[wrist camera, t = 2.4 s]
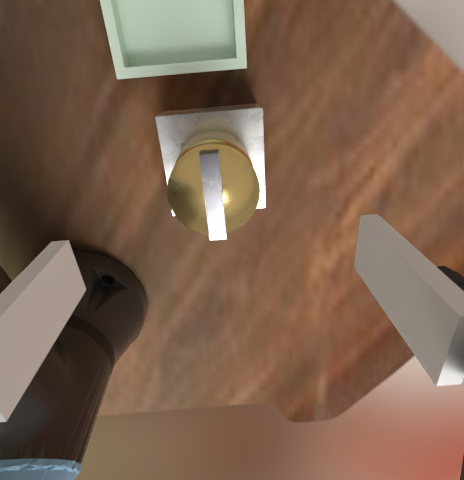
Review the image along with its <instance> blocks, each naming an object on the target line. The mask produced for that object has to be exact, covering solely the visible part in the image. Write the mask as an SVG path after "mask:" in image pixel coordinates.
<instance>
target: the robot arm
mask: <svg viewBox="0 0 464 480" xmlns="http://www.w3.org/2000/svg"><path fill="white" fill-rule="evenodd" d="M354 268H355V270H356V271H357V272H358V274H359V275H360V277H361V278H362V280H363V281H364V283H365V284H366V285H367V287H368V288H369V290H370V291H371V293H372V294H373V296H374V297H375V298H376V300H377V301H378V303H379V304H380V306H381V307H382V308H383V310H384V311H385V313H386V314H387V316H388V317H389V319H390V320H391V321H392V323H393V324H394V326H395V327H396V329H397V330H398V332H399V333H400V334H401V336H402V337H403V339H404V340H405V342H406V343H407V344H408V346H409V347H410V349H411V350H412V352H413V353H414V355H415V356H416V357H417V359H418V360H419V362H420V363H421V365H422V366H423V368H424V369H425V370H426V372H427V373H428V375H429V376H430V378H431V379H432V380H433V382H434V383H435V385H436V386H441V385H455V384H461V383H462V381H463V379H464V277H463V276H462V275H461V274H459V273H457V272H455V271H453V270H451V269H449V268H447V267H445V266H438V267H436V266H435V265H434V264H433V263H432V262H430V261H429V260H428V259H427V258H426V257H425V256H424V255H423V254H421V253H420V252H419V251H418V250H417V249H416V248H415V247H414V246H413V245H411V244H410V243H409V242H408V241H407V240H406V239H405V238H404V237H402V236H401V235H400V234H399V233H398V232H397V231H396V230H395V229H393V228H392V227H391V226H390V225H389V224H388V223H387V222H386V221H385V220H383V219H382V218H381V217H380V216H379V215H378V214H374V215H362V216H360V223H359V231H358V239H357V247H356V255H355V263H354ZM146 313H147V298H146V294H145V291H144V289H143V287H142V285H141V284H140V282H139V281H138V279H137V278H136V277H135V276H134V274H133V273H132V272H131V271H129V270H128V269H127V268H126V267H125V266H123V265H122V264H120V263H119V262H117V261H115V260H113V259H111V258H109V257H107V256H104V255H101V254H98V253H95V252H90V251H84V250H72V248H71V245H70V242H69V240H64V241H52V242H51V243H50V244H49V245H48V246H47V247H46V248H45V249H44V250H43V251H42V252H41V253H40V254H39V255H38V256H37V257H36V258H35V259H34V260H33V261H32V262H31V263H30V264H29V265H28V266H27V267H26V268H25V269H24V270H23V271H22V272H21V273H20V274H19V275H18V276H17V277H16V278H15V279H14V280H13V281H11V279H10V278H9V276H8V275H7V274H6V272H5V271H4V270H3V268H2V267H1V266H0V480H75V478H76V475H77V474H78V473H79V472H80V470H81V467H82V465H81V463H82V459H83V457H84V454H85V451H86V447H87V445H88V441H89V439H90V435H91V433H92V430H93V427H94V424H95V420H96V418H97V415H98V412H99V409H100V406H101V403H102V400H103V397H104V394H105V391H106V388H107V385H108V382H109V379H110V376H111V373H112V370H113V367H114V365H115V363H116V362H117V361H118V360H119V358H120V357H121V356H122V355H123V353H124V352H125V351H126V350H127V348H128V347H129V346H130V345H131V344H132V343H133V341H134V340H135V339H136V338H137V337H138V335H139V333H140V331H141V329H142V327H143V324H144V320H145V317H146ZM460 480H464V456H463V463H462V470H461V477H460Z"/></svg>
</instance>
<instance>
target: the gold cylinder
mask: <svg viewBox="0 0 464 480" xmlns="http://www.w3.org/2000/svg"><path fill="white" fill-rule="evenodd" d="M167 195H168V200H169V204H170V207H171V209H172V211H173V213H174V214H175V215H176V217H177V218H178V219H179V220H180V221H181V222H182V223H183V224H184V225H185V226H187V227H188V228H190V229H192V230H194V231H196V232H199V233H202V234H207V235H209V240H210V241H212V240H224V239H227V237H226V233H229V232H232V231H234V230H236V229H238V228H240V227H241V226H243V225H244V224H245V223H246V222H247V221H248V220H249V219H250V218H251V217H252V215H253V214H254V212H255V210H256V208H257V205H258V202H259V197H260V185H259V180H258V177H257V175H256V172H255V169H254V167H253V164H252V162H251V159H250V157H249V154H248V152H247V150H246V148H245V147H244V146H243V145H242V143H241V142H240V141H238V140H237V139H236V138H234V137H233V136H231V135H229V134H226V133H223V132H217V131H210V132H204V133H201V134H199V135H196V136H195V137H193V138H192V139H190V140H189V141H188V142H187V143H186V144H185V145H184V147H183V148H182V150H181V152H180V154H179V156H178V158H177V161H176V163H175V165H174V167H173V169H172V172H171V174H170V177H169V180H168V185H167Z"/></svg>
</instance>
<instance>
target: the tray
mask: <svg viewBox="0 0 464 480" xmlns="http://www.w3.org/2000/svg"><path fill="white" fill-rule="evenodd" d="M100 3H101V8H102V12H103V17H104V22H105V26H106V31H107V35H108V40H109V44H110V49H111V54H112V58H113V63H114V67H115V72H116V76H117V79H128V78H140V77H151V76H163V75H175V74H186V73H198V72H210V71H221V70H233V69H245V68H247V60H246V39H245V18H244V0H100Z"/></svg>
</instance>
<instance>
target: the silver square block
mask: <svg viewBox="0 0 464 480" xmlns="http://www.w3.org/2000/svg"><path fill="white" fill-rule="evenodd" d="M155 118H156V124H157V130H158V135H159V141H160V147H161V152H162V158H163V163H164V169H165V175H166V180H167V185H168V180H169V177H170V174H171V172H172V169H173V167H174V165H175V163H176V161H177V158H178V156H179V154H180V152H181V150H182V148H183V147H184V145H185V144H186V143H187V142H188V141H189V140H190V139H192V138H193V137H195V136H196V135H199V134H201V133H204V132H210V131H217V132H223V133H226V134H229V135H231V136H233V137H234V138H236V139H237V140H238V141H240V142H241V143H242V145H243V146H244V147H245V148H246V150H247V152H248V154H249V157H250V159H251V162H252V164H253V167H254V169H255V172H256V175H257V177H258V180H259V185H260V197H259V202H258V205H257V208H266V206H265V170H264V134H263V107H261V106H260V105H259V104H257V103H252V104H240V105H228V106H217V107H205V108H193V109H182V110H170V111H163V112H161V113H160V114H159V115H157V116H156V117H155ZM257 208H256V209H257ZM172 214H173V216H176V215H175V214H174V213H173V211H172Z"/></svg>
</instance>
